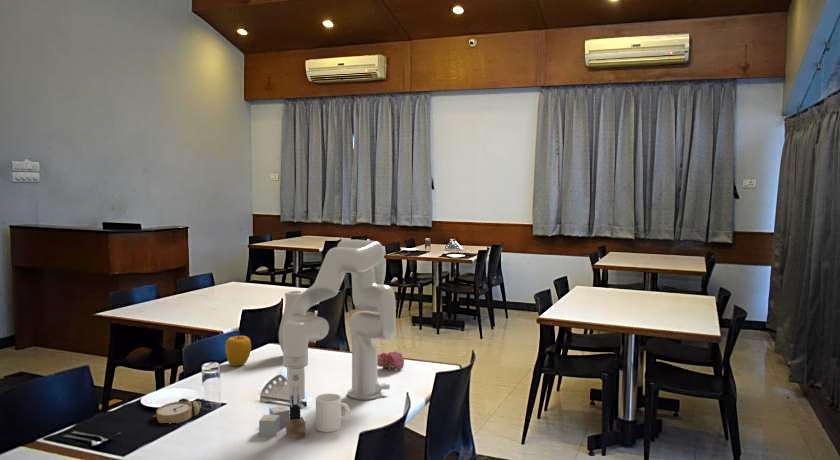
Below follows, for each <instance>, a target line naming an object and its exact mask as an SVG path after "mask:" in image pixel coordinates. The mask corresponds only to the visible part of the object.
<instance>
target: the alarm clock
mask: <svg viewBox="0 0 840 460" xmlns="http://www.w3.org/2000/svg"><path fill="white" fill-rule="evenodd" d="M201 409H202V403H201V401H200V400H189V399H188V398H184V397H183V398H180V399H179V400H178V401H174V402H169V403H166V404H164V405H161V406H159V408H157V409H156V414H155V415H153V416H152V417H153V418H156V419H157V420H158V421H157V422H158V423H160V424H163V423H169V424H168V425H172V424H171V423H176V424H180V423H184V422H185V421H188V420H190V419H191V418H192V417H193V416H198V415H199V413H200V410H201Z"/></svg>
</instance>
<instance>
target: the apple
mask: <svg viewBox="0 0 840 460" xmlns="http://www.w3.org/2000/svg"><path fill="white" fill-rule="evenodd" d="M224 349H225V356H226V359H227V362H228V363H229V365H230V366H232V367H238V366H239V367H240V366H242V365H245V364H246V363H247V361H248V359H249V358H250V355H251V351H252V341H251V339H250V337H249V336H246V335H236V336H235V335H234V336H230V337H228V338H227V339H226V341H225V348H224Z"/></svg>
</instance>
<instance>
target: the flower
mask: <svg viewBox="0 0 840 460" xmlns="http://www.w3.org/2000/svg"><path fill="white" fill-rule="evenodd" d="M404 365H405V359H404V358H403V354H402V353H401V352H399V351H397V350H395V351H392V352H391V351H390V352H388V353H386V352H382V353H380V354H379V355H377V367H379V368H382V369H384V368H387V369H388V370H389V371H390V370H392V368H394V369H395V370H396V369H401V370H403V368H404Z"/></svg>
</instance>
